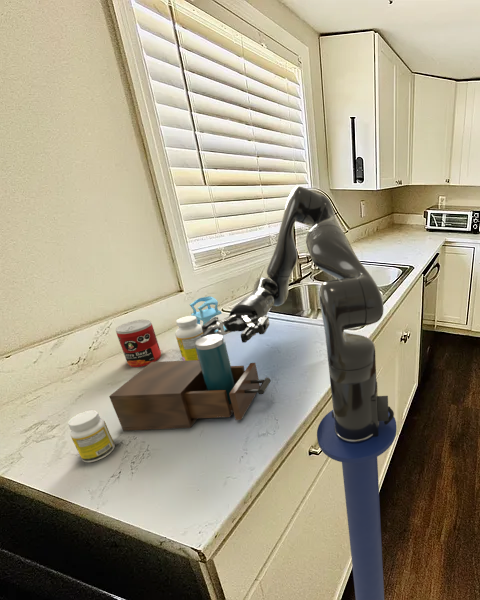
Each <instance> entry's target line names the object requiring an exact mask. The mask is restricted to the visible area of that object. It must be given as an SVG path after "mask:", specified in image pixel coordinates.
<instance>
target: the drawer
mask: <svg viewBox="0 0 480 600" xmlns="http://www.w3.org/2000/svg"><path fill="white" fill-rule="evenodd" d="M231 369H232V374H233V378H234V382H235V386H234V387H233V389H232V390H231V391H230V393H229V395H230V399H231V404H229V401H228V397H227V393H226V390H213V391H207V389H206V385H205V381H204V378H203V374H201V375H200V376H199V378H198V379H197V380H196V381H195V382H194V383H193V384H192V385H191V386H190V387H189V388H188V390H187V391H186V392H185V393H184V394H183V395H184V398H185V402H186V405H187V408H188V411H189V415H190V418H191V419H195V418H198V419H215V418H217V419H218V418H231V417H232V415H234V419H235V421H241V420H242V419H243V418H244V416H245V414H246V413H247V411H248V409H249V407H250V405H251V404H252V402H253V400H254V399H255V397H256V395H257V394H258V395H261V396H263V395H264V394H265V392H266V390H267V389H268V386H269V385H270V383H271V381H272V380H271V378H270V377H268V376H267V377H265V378H264V379H260V378H259V374H258V369H257V363H256V362H250V363H249V365H248V366H247V367H246V369H245V367H244V365H231Z"/></svg>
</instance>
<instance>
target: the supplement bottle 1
mask: <svg viewBox="0 0 480 600" xmlns="http://www.w3.org/2000/svg"><path fill="white" fill-rule="evenodd" d="M67 425H68V427H69V430H70V433H69V435H70V438H71V441H72V442H73V444H74V446H75V448H76V450H77V452H78V454H79V456H80V458H81V461H82V462H85V463H93V462H97V461H100V460H102V459H104V458H105V457H107V456H109V455H110V454H111V453H112V452H113V451H114V449H115V448H116V447H115V446H116V445H115V442H114V439H113V437H112V435H111V433H110V430H109V427H108V425H107V424H106V421H105V420H104V419H103V418H101V416H100V415H99V412H98V411H97V410H92V409H90V410H86V411H82V412H79V413H77V414H75V415H73V417H71V418H70V419H68V422H67Z"/></svg>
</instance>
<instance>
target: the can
mask: <svg viewBox="0 0 480 600" xmlns="http://www.w3.org/2000/svg"><path fill="white" fill-rule="evenodd" d="M195 344H196V347H195V348H196V352H197V355H198V359H199V363H200V366H201V370H202V374H203V378H204V381H205V385H206V389H207V391H213V390H226V393H227V397H228V401H229V404H231V399H230V395H229V393H230V391H231V390H232V389H233V387H234V386H235V382H234V378H233V374H232V369H231V366H232V365H231V362H230V356H229V352H228V349H227V345H226V340H225V339H224V335H221V334H220V335H218V334H213V335H207V336H204V337H202V338H200V339H198V340H197V341H196V342H195Z"/></svg>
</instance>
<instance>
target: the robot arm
mask: <svg viewBox="0 0 480 600" xmlns="http://www.w3.org/2000/svg"><path fill="white" fill-rule="evenodd" d="M282 215H283V217H282V220H281V222H280V227H279V231H278V237H277V240H276V245H275V247H274V251H273V254H272V256H271V258H270V261H269V264H268V265H267V268H266V276H267V277H265V276H262V277H259V278H257V280H255V282H254V283H253V286H252V291H251V293H250V294H249V295H247V296H246V297H244V298H243V299H241V300H240V301H239V302H238V303H237V304H236V305H234V306H233V308H232V309H230V311H229V315H228V316H227V317H225V318H223V319H219V317H218V316H215V317H213V318H212V319H210V320H209V321H208V322H207V323H205V324H204V325H203V324H202V331H203V334H202V335H201V338H202V337H204V336H207V335H213V334H218V335H222V336H225V335H228V334H231V333H235V332H241V333H240V339H241V343H243V344H245V343H247V342H248V341H250V340H251V338H253V337H254V336H256V335H257V334H258V335H264V334H266V331H267V330H268V328H269V327H270V325H271V324H270V318H269V315H268V313H269V312H270V310H272V308H273V307H280V306H282V305H283V304H285V302H286V301H287V299H288V296H289V286H290V279H291V276H292V274H293V272H294V270H295V268H296V265H297V262H298V249H297V246H296V243H295V238H294V226H295V223H300V224H302V225H306V226H309V227H310V228H309V230H308V231H307V235H306V237H305V243H306V248H307V250H308V253H309V256H310V259H311V261H312V263H313V264H314V265H315V266H316V267H317V268H318V269H319V270H320V271H322V272H323V273H326V274H327V275H329V276H331V277H333V278H335V279H331V280H325V281H323V282H322V283H321V285H320V288H319V295H318V296H319V305H320V306H319V307H320V313H321V317H322V323H323V330H324V337H325V346H326V354H327V363H328V374H329V384H330V392H331V393H330V394H331V401H332V403H331V404H332V410H333V412H332V418H333V417H334V424H335V433H336V435H337V437H338V438H339V439H340V440H342V441H344V442H347V443H362V442H365V441H367V440H369V439H371V438H372V437H378V435H379V421H384V424H386V425H387V424H388V423H389V422H390V421H391V420H392V419H393V416H394V415H395V412H394V410H393V409H392V407H391V406H389V396H388V395H379V392H378V391H379V389H378V381H377V361H376V346H375V344H374V342H373V340H372V339H370V338H369V337H367V336H364V335H361V334H356V333H350V332H346V330H350V329H356V328H361V327H366V326H371V325H373V324H376V323H378V322H379V321H380V320H381V319H382V317H383V315H384V310H385V309H384V299H383V297H382V293H381V291H380V288H379V286H378V284H377V282H376V281H375V279H374V278H373V276H372V275H371V274H370V272H369V271H368V270H367V268H366V267H365V266H364V265H363V264H362V262H361V261H360V259H359V257H358V256H357V254H356V253H355V251H354V249H353V247H352V246H351V244H350V241H349V239H348V237H347V236H346V234H345V232H344V231H343V229H342V228H341V225H340V223H339V221H338V219H337V217H336V215H335V211H334V208H333V205H332V203H331V200H330V199H329V198H328V197H327V196H325V195H324V194H321V193H319V192H316V191H314V190H311V189H308V188H306V187H303V186H300V185H297V186H295V187H294V188H293V189H292V190H291V192H290V194H289V196H288V198H287V201H286V204H285V207H284V211H283V214H282ZM223 326H225V328H226V329H227V330H225V331H224V328H223ZM215 330H218V331H217V332H215ZM388 412H389V413H390V416H389V417H388ZM394 417H395V416H394Z"/></svg>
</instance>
